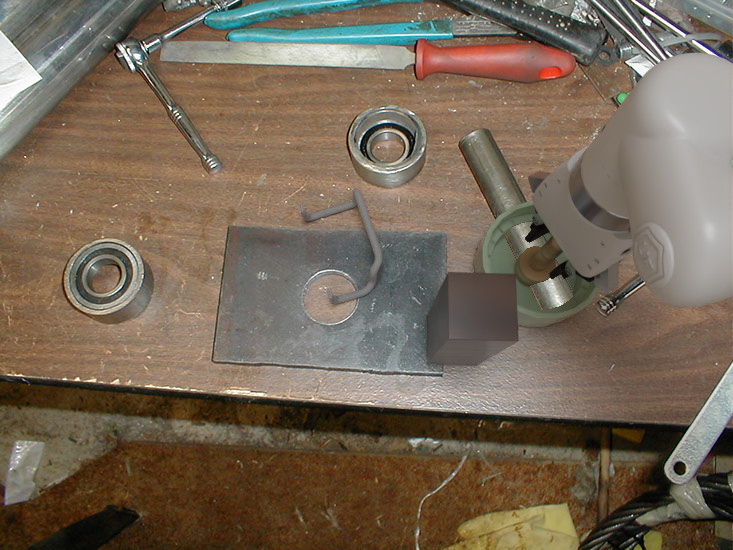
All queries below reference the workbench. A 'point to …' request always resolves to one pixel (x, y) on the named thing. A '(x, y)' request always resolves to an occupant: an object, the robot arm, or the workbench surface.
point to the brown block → (472, 318)
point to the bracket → (372, 236)
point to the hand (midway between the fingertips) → (549, 252)
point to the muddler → (537, 263)
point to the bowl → (501, 259)
